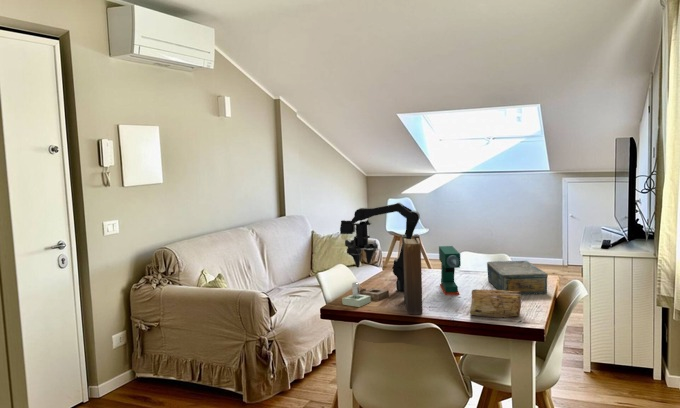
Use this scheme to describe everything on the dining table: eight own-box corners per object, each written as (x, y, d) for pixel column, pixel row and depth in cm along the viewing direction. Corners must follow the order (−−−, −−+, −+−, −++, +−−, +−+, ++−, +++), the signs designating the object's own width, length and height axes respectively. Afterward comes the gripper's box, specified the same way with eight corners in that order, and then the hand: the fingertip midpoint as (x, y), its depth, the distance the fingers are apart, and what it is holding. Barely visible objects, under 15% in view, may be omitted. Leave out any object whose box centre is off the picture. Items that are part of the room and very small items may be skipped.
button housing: (366, 295, 259) (365, 288, 259) (360, 297, 256) (360, 290, 256) (358, 294, 262) (358, 287, 262) (353, 296, 258) (352, 289, 258)
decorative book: (404, 300, 246) (401, 234, 244) (420, 300, 246) (417, 234, 244) (406, 315, 223) (404, 242, 221) (424, 315, 223) (421, 242, 220)
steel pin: (361, 302, 244) (360, 282, 244) (357, 304, 242) (356, 284, 241) (355, 301, 246) (354, 282, 246) (351, 303, 244) (350, 283, 243)
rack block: (370, 303, 245) (370, 295, 245) (359, 307, 238) (358, 300, 238) (354, 300, 250) (354, 293, 250) (342, 305, 243) (342, 298, 243)
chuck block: (388, 296, 254) (388, 290, 254) (378, 301, 247) (378, 294, 247) (372, 294, 260) (372, 288, 259) (362, 299, 253) (361, 292, 252)
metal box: (528, 279, 279) (527, 260, 278) (549, 295, 247) (549, 273, 246) (485, 280, 280) (485, 261, 279) (501, 296, 248) (501, 274, 247)
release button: (363, 293, 259) (363, 286, 259) (360, 295, 257) (360, 287, 256) (358, 293, 261) (358, 285, 261) (355, 294, 259) (354, 286, 258)
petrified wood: (520, 309, 223) (520, 287, 220) (520, 325, 211) (521, 302, 208) (471, 306, 229) (471, 284, 226) (469, 322, 217) (469, 299, 214)
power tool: (465, 302, 239) (464, 257, 237) (449, 303, 239) (448, 257, 238) (454, 285, 271) (453, 245, 269) (439, 286, 271) (438, 246, 270)
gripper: (359, 230, 278) (360, 261, 279) (337, 235, 263) (338, 267, 265) (377, 231, 271) (378, 262, 273) (356, 236, 257) (357, 269, 258)
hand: (363, 265), depth 267 cm, fingers open, 9 cm apart
